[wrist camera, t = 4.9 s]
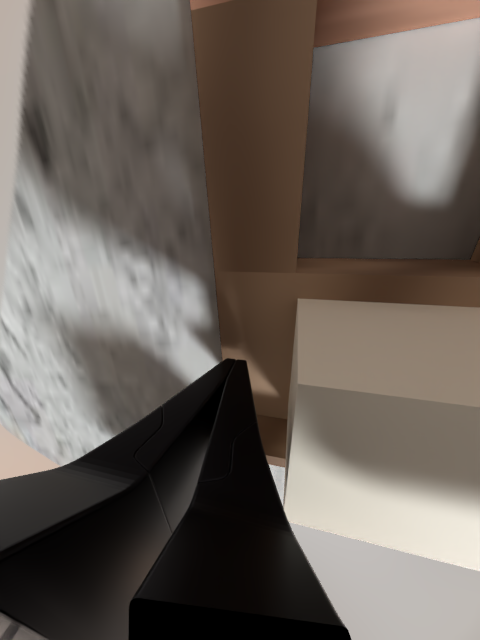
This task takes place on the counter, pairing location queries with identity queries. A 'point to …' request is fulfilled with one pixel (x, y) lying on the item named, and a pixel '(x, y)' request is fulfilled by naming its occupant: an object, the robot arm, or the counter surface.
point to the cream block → (387, 426)
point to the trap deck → (290, 181)
